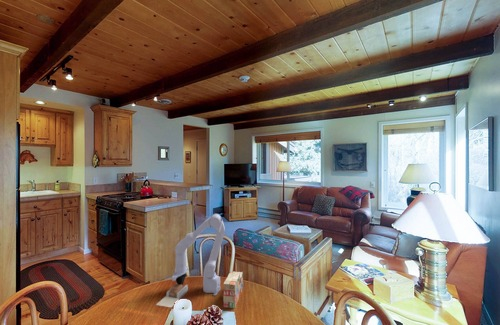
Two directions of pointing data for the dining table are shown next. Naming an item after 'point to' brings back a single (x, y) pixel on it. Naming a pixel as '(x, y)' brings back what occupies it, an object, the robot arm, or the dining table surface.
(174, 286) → the block
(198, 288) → the dining table surface
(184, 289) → the chute
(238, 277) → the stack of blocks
